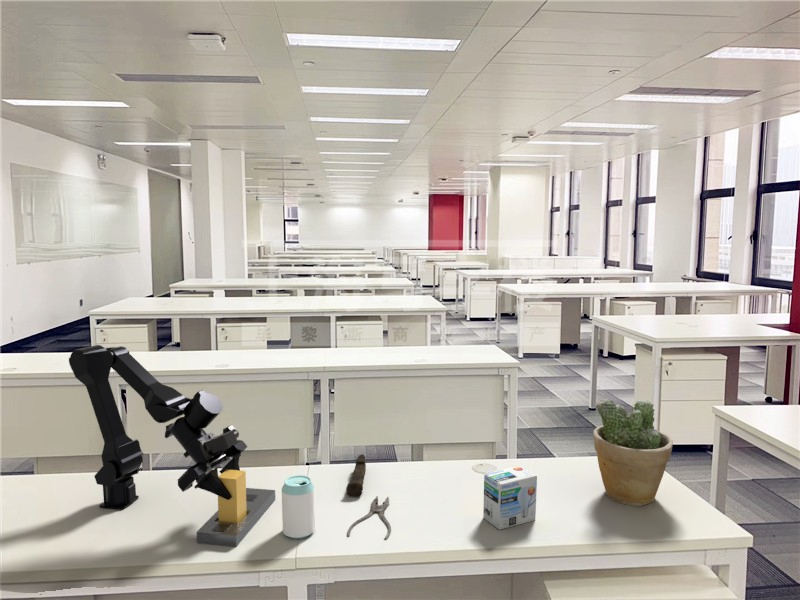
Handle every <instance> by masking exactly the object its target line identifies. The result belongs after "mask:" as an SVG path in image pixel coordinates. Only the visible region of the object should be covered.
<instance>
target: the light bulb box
mask: <svg viewBox="0 0 800 600" xmlns="http://www.w3.org/2000/svg"><path fill="white" fill-rule="evenodd" d="M483 475H484V477H483V479H484V480H483V515H482V517H483V518H484V519H485V520H486V521H487V522H489V523H490V524H491V525H493V526H494V527H496V528H497V529H498V530H505V529H507V528H511V527H514V526H515V527H516V526H519V525H522V524H525V523H529V522H532V521H533V522H534V521H536V513H537V512H536V511H537V508H536V507H537V487H538V486H537V485H538V476H537V475H536V474H534V473H533V472H531V471H530V470H527V469H526V468H523V467H522V466H520V465H517V466H516V465H515V466H514V467H508V468H504V469H501V470H500V469H499V470H496V471H491V472H487V473H484V474H483Z"/></svg>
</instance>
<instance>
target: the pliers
mask: <svg viewBox="0 0 800 600" xmlns="http://www.w3.org/2000/svg"><path fill="white" fill-rule="evenodd" d="M389 497H390V496H387V497H386V498H385V500H384V501H383V502H382V504H380V505H379V497H378V495H377V496H376V497H375V498H374V499H373V500H372V502H371V505H370V509H369V512H368V513H367V514H365V515H364V516H363V517H361V518H359V519H357V520H356V521H354V522H353V523H352V524H351V525H350V526H349V528H348V529H347V531H346V533H347V534H346V536H347V537H348V538H349V537H350V536H351V532H352V530H353V528H354V527H356V526H357V525H358V524H360V523H362V522H363V521H365V520H368V519H369V518H371V517H372V516H373V515H375V514H378V516H379V518H380V520H381V521H382V522H383V524H385V526H386V528H387V532H386V535H385V537H384V538H383V539H384V540H385V541H387V540H388V539H389V537H390V535H391V532H392V527H391V523H390V522H389V521H388V519H387V518H386V516H385V511H386V510H387V508H388V507H389V506H390V500H389Z"/></svg>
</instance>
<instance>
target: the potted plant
mask: <svg viewBox="0 0 800 600" xmlns="http://www.w3.org/2000/svg"><path fill="white" fill-rule="evenodd" d="M653 407H654V403H652V402H651V401H649V400H647V399H639V400H637V401H636V402H635V403H634V407H633V410H632V412H631V413H630V414H629V415H628V411H627V409H625V407H624V406H623V405H622V404H615V403H614V400H610V398H603V399H601V400H599V401H597V403H596V406H595V408H596V409H597V411H598V414H599V415H600V417H601V423H602V425H600V426H597V427H596V428H595V429H594V430H593V433H592V434H593V435H592V436H593V443H594V450H595V452H596V457H597V462H598V463H597V464H598V468H599V472H600V475H601V476H600V477H601V481H602V484H603V486H604V491H605V493H606V495H607V496H608V498H610V499H611V500H613V501H615V502H617V503H620V504H624V505H628V506H633V507H635V506H637V507H642V506H646V505H649V504H651V503H653V502H654V500H655V498H656V496H657V492H658V490H659V487H660V485H661V482H662V479H663V477H664V474H665V471H666V467H667V463H669V461H670V459H671V456H672V455H671V454H672V451H673V445H674V440H673V439H672V438H671V437H670V436H669V435H668V434H666V433H664V432H661V431H659V430H658V429H655V426H654V422H655V417H654V415H655V413H654V412H655V409H654V408H653Z"/></svg>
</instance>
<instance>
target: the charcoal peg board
mask: <svg viewBox="0 0 800 600" xmlns="http://www.w3.org/2000/svg"><path fill="white" fill-rule="evenodd" d="M275 501H276V490H275V489H267V488H266V489H265V488H252V487H246V511H247V516H246V517H245V518H244V519H243V520H242V521H241V522H240V523H230V522H219V517H218V510H217V511H216V512H214V514H213V515H211V517H210V518H209V519H208V520H207V521H205V523H204V524H203V525H202V526H201V527H200V528H199V529H198V530H197V531H196V543H197V544H203V545H204V544H205V545H215V546H223V547H224V546H225V547H236V548H237V547H238V546H239V545H240V544H241V542H242V541H243V540H244V538H246V536H247V535H248V534H249V532H250V531H251V530H252V528H253V527H254V526H255V525H256V524H257V523H258V522H259V520H260V519H261V518H262V517H263V516H264V514H265V513H266V512H267V510H269V509H270V507H271V506H272V505H273V504H274V502H275Z"/></svg>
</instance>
